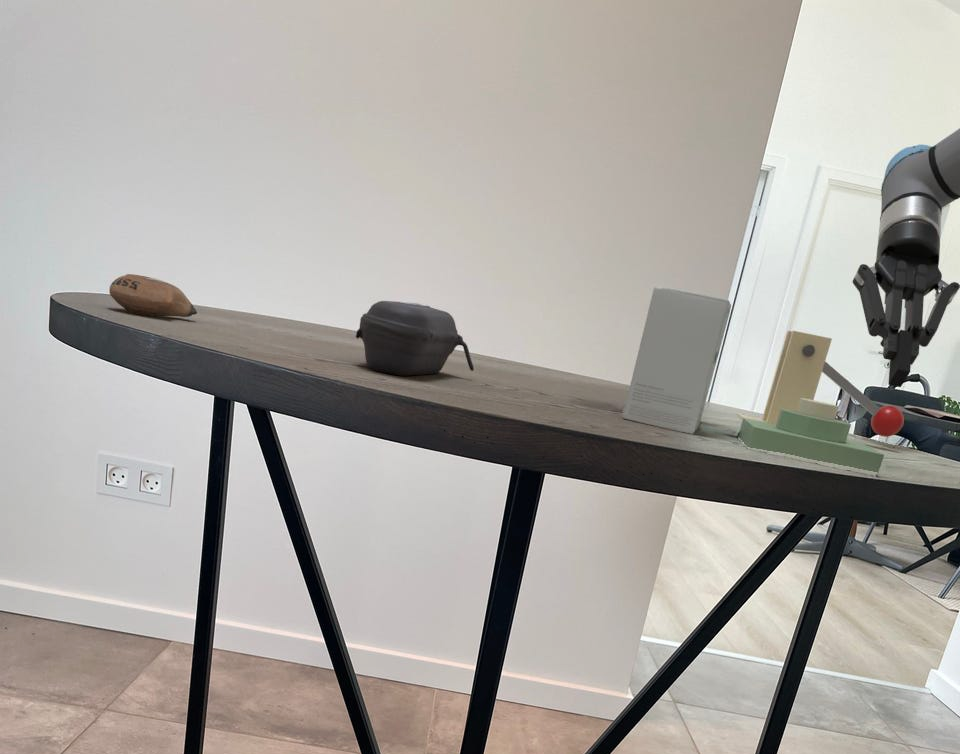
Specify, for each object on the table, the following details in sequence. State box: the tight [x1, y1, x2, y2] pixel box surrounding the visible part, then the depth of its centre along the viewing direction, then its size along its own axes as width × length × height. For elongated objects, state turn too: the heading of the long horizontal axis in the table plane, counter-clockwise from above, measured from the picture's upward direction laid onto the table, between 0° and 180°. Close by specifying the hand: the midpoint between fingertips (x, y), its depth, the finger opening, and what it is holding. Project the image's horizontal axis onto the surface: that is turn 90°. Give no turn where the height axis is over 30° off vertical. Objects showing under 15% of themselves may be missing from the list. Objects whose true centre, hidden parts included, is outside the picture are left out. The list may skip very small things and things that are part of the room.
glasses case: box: [355, 300, 475, 377], centre depth 97 cm, size 18×10×8 cm, turn 168°
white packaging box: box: [622, 286, 732, 435], centre depth 95 cm, size 7×7×13 cm
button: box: [797, 398, 840, 421], centre depth 92 cm, size 4×4×2 cm
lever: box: [822, 361, 905, 438], centre depth 113 cm, size 16×4×4 cm, turn 80°
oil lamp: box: [108, 273, 198, 318], centre depth 102 cm, size 9×4×8 cm
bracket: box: [737, 330, 833, 424], centre depth 114 cm, size 10×8×12 cm
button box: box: [737, 409, 885, 473], centre depth 93 cm, size 12×10×4 cm
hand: (899, 378), depth 115 cm, fingers closed
